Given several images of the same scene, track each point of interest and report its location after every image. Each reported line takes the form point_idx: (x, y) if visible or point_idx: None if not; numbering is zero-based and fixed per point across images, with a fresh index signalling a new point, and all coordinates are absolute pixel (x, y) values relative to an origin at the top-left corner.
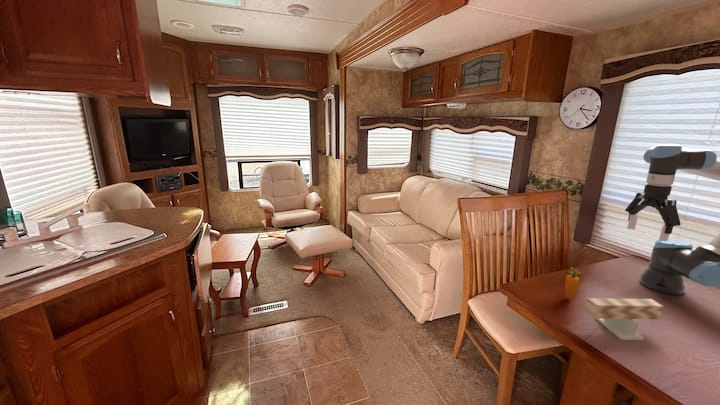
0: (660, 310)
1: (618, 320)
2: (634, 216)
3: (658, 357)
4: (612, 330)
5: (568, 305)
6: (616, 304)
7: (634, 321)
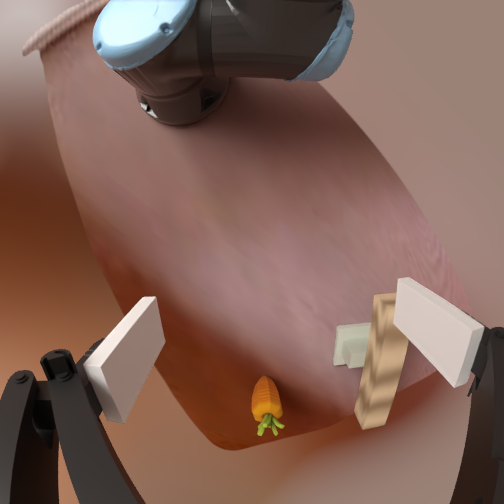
0: None
1: None
2: (120, 390)
3: None
4: None
5: (287, 386)
6: (391, 394)
7: None
